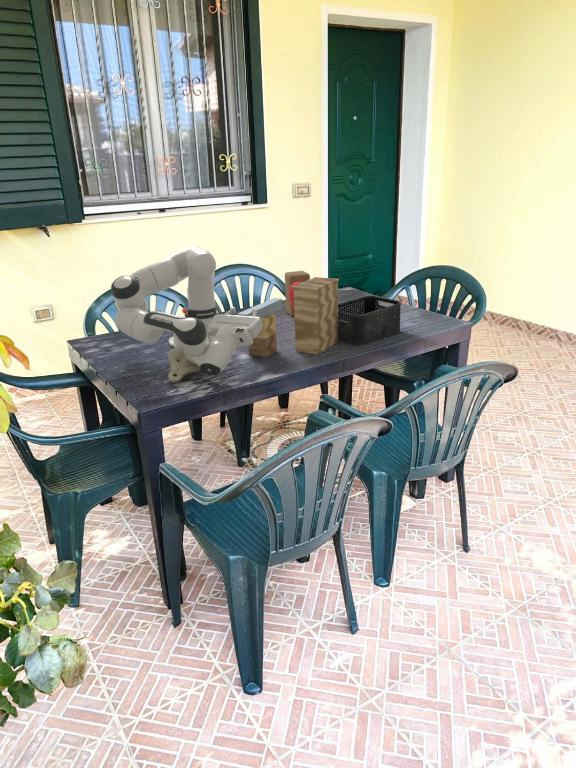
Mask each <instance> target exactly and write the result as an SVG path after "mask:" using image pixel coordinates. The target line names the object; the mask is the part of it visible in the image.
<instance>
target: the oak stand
mask: <svg viewBox="0 0 576 768" xmlns="http://www.w3.org/2000/svg"><path fill="white" fill-rule="evenodd" d="M339 281H340V279H339V278H330V277H329V278H328V277H317V276H316V277H313V278H310V280H307V281H305V282H302V283H300V284H298V285H295V286H293V289H294V314H295V316H294V334H295V335H294V341H295V352H299V353H306V354H312V355H319V353H320V354H321V353H322V351H323V352H324V351H326V350H327V349H329V348H331V347H332V346H334V345H335V344H336V343H338V342H339V341H338V318H339V317H338V311H339V310H338V309H339V308H338V304H339V284H338V283H339ZM337 341H338V342H337ZM325 349H326V350H325Z"/></svg>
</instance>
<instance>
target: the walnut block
mask: <svg viewBox="0 0 576 768" xmlns="http://www.w3.org/2000/svg"><path fill="white" fill-rule="evenodd" d="M277 347H278V345H277V332H276V333H275V334H274V335H272V336H270V337H268V338H266V339H263V338H254V339H253V343H252V345H248V354H249V355H250V356H258V357H264V358H268V357H269V356H271V355H273V354H275V353H276V352H277V351H278V348H277Z"/></svg>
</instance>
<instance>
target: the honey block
mask: <svg viewBox="0 0 576 768" xmlns="http://www.w3.org/2000/svg"><path fill="white" fill-rule="evenodd" d="M261 320H262V322H263V328H262V329H261V331H260V333H259V334H258V336H257V337H256V338H263V339H266V338H268V337H270V336H272V335H274V334H275V333H276V334H277V329H276V327H277V325H276V314H274V313H272V314H270V315H268V316H266V317H264V318H262V319H261Z"/></svg>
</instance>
